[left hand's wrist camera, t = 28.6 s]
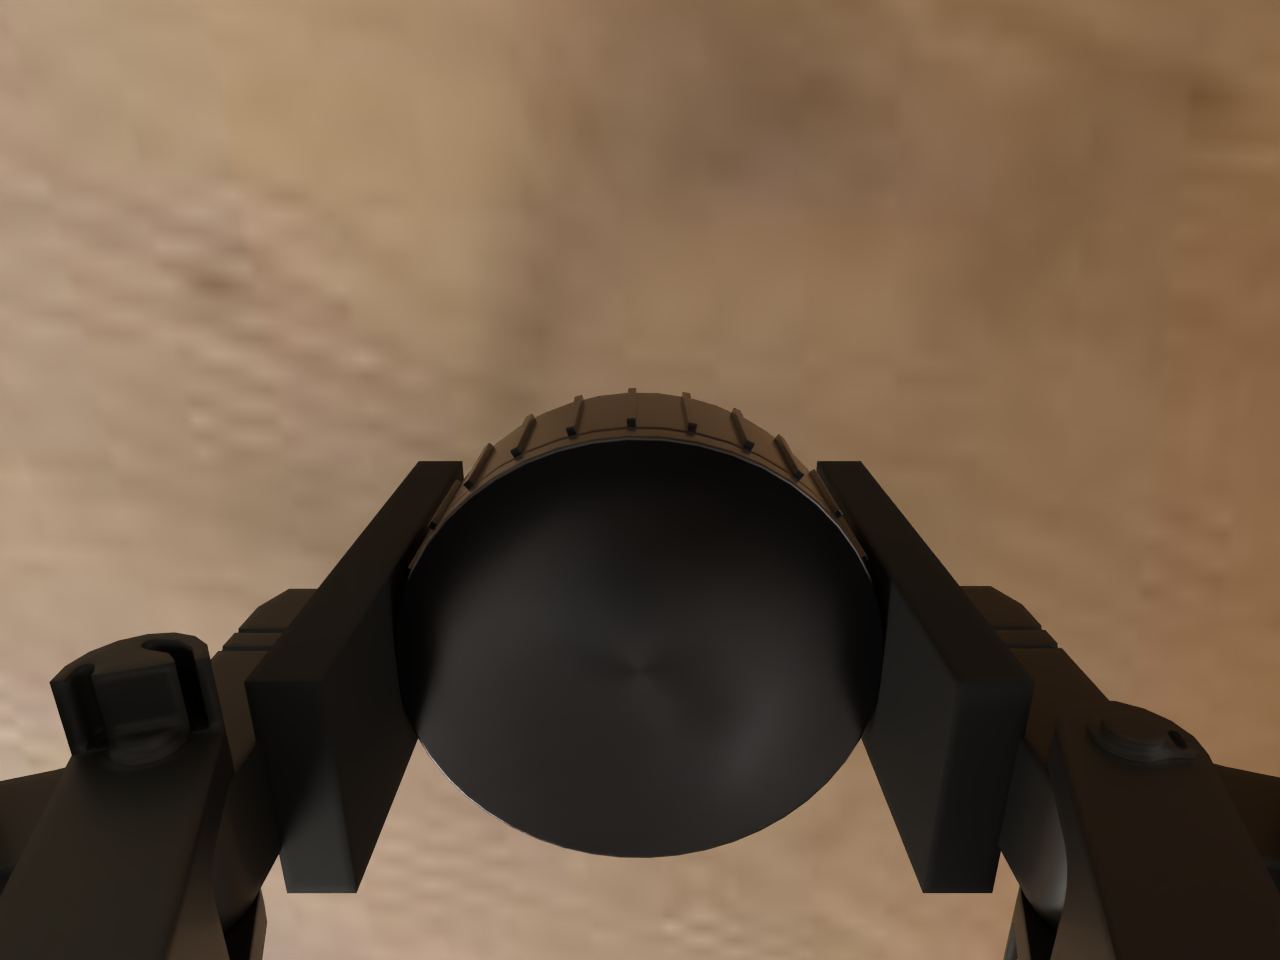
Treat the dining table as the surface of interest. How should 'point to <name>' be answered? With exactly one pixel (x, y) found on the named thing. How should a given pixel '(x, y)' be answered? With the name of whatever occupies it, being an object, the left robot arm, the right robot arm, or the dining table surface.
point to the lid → (639, 629)
